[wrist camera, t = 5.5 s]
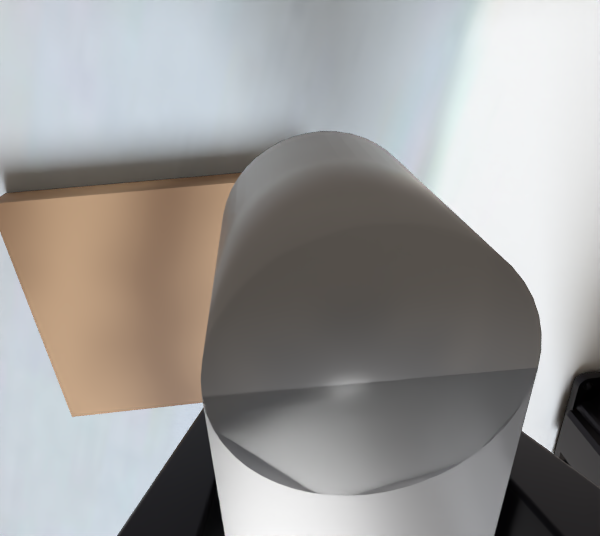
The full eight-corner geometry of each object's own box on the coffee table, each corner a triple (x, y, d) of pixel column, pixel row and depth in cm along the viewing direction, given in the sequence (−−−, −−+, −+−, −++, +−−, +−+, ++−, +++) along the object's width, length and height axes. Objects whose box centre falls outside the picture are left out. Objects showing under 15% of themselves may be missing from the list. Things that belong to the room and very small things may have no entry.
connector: (429, 125, 8) (579, 210, 4) (388, 561, 13) (437, 754, 10) (210, 136, 8) (175, 236, 4) (261, 575, 13) (265, 778, 10)
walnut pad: (301, 167, 18) (304, 176, 17) (314, 372, 23) (317, 389, 21) (5, 193, 17) (-11, 203, 16) (80, 397, 22) (72, 416, 21)
